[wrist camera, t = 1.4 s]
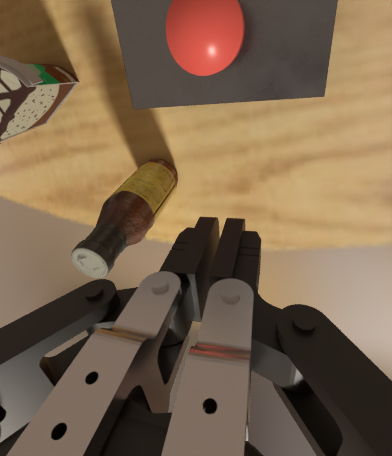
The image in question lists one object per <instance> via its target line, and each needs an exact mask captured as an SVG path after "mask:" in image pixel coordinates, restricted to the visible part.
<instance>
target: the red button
mask: <svg viewBox="0 0 392 456" xmlns="http://www.w3.org/2000/svg"><path fill="white" fill-rule="evenodd" d="M244 36H245V19H244V14H243V10H242V8H241V5H240V3H239V1H238V0H173V1H172V3H171V5H170V8H169V10H168V14H167V19H166V38H167V43H168V46H169V49H170V52H171V54H172V56H173V58H174V59H175V61H176V62H177V63H178V64H179V65H180V66H181V67H182V68H183V69H184V70H186V71H187V72H189V73H191V74H194V75H198V76H208V75H212V74H215V73H217V72H219V71H221V70H223V69H225V68H226V67H228V66H229V65H230V64H231V63H232V62H233V61H234V60H235V58H236V57H237V55H238V54H239V52H240V50H241V47H242V44H243V41H244Z"/></svg>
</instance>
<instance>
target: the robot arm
mask: <svg viewBox="0 0 392 456" xmlns="http://www.w3.org/2000/svg"><path fill="white" fill-rule="evenodd" d="M260 258H261V238H260V237H259V235H258V233H257V232H255V231H245V219H237V218H227V219H226V222H225V225H224V228H223V231H222V235H221V238H220V235H219V221H218V218H216V217H200V218H199V220H198V222H197V224H196V226H195V228H186V229H185V230H184V231H183V232H181V233H180V234H179V235H178V237H177V239H176V241H175V243H174V245H173V247H172V250H170V252H169V254H168V256H167V258H166V259H165V262H164V263H163V265H162V267H161V269H160V271H159V272H156V273H153V274H151V275H149V276H147V277H146V278H145V279H144V280H143V281H142V282H141V284H140V285H139V287H136V288H130V289H123V290H116V287H115V285H114V283H113V282H111V281H109V280H106V279H99V280H94V281H91V282H89V283H87V284H85V285H83V286H81V287H79V288H77V289H75V290H74V291H71V292H69V293H67V294H66V295H64V296H62V297H60V298H58V299H56V300H54V301H52V302H50V303H48V304H46V305H44V306H42V307H40V308H39V309H37V310H35V311H33V312H31V313H29V314H27V315H25V316H23V317H21V318H19V319H17V320H16V321H14V322H12V323H10V324H8V325H6V326H4V327H2V328H0V456H263V455H262V454H261V453H260V452H259V451H258V450H257V449H256V448H255V447H254V446H253V445H251V444H250V443H249V442H248V439H249V414H250V393H251V372H252V371H254V372H256V373H258V374H259V375H261V376H263V377H265V378H267V379H268V380H270V381H272V383H273V385H274V388H275V390H276V391H277V393H278V394H279V396H280V398H281V399H282V401H283V402H284V404H285V406H286V407H287V409H288V410H289V412H290V414H291V415H292V417H293V418H294V420H295V421H296V423H297V425H298V426H299V428H300V429H301V431H302V433H303V434H304V436H305V437H306V439H307V440H308V442H309V444H310V445H311V447H312V449H313V450H314V452H315V453H316V455H317V456H392V381H391V380H390V379H389V378H388V377H387V376H386V375H385V374H384V373H383V372H382V371H381V370H380V369H379V368H378V367H377V366H376V365H375V364H374V363H373V362H372V361H371V360H370V359H368V357H366V355H365V354H364V353H363V352H362V351H360V349H359V348H358V347H357V346H355V345H354V344H353V343H352V342H351V341H350V340H349V339H348V338H347V337H346V336H345V335H344V334H343V333H342V332H341V331H340V330H339V329H338V328H337V327H336V326H335V325H334V324H333V323H332V322H331V321H330V320H329V319H328V318H327V317H326V316H325V315H324V314H323V313H322V312H320V311H319V310H317V309H315V308H313V307H310V306H307V305H300V304H295V305H290V306H287V307H285V308H283V309H280V308H277V307H275V306H272V305H270V304H269V303H267V302H266V301H264V300H263V299H262V298H261V297H260V295H259V294H258V284H259V275H260ZM192 321H197V322H201V321H202V322H201V326H200V330H199V334H198V338H197V342H196V345H195V346H192V347H191V348H190V349H189V352H188V355H187V359H186V362H185V366H184V370H183V374H182V378H181V381H180V385H179V389H178V393H177V397H176V401H175V405H174V408H173V412H172V413H168V410H169V403H170V393H171V389H172V386H173V384H174V380H175V378H176V375H177V372H178V370H179V367H180V364H181V362H182V359H183V356H184V353H185V350H186V348H187V345H188V343H189V339H190V333H189V330H190V327H191V324H192ZM85 330H86V331H87V333H88V336H87V337H85V338H84V339H82V340H80V341H79V342H77V343H76V344H74V345H72V346H71V347H69V348H67V349H66V350H64V351H62V352H61V353H59V354H58V355H56V356H53V357H44V355H45V354H46V353H48V352H50V351H51V350H53V349H55V348H56V347H58V346H60V345H61V344H63V343H65V342H66V341H68V340H70V339H71V338H73V337H74V336H76V335H78V334H80V333H81V332H83V331H85Z"/></svg>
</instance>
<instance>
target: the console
mask: <svg viewBox="0 0 392 456" xmlns="http://www.w3.org/2000/svg"><path fill="white" fill-rule="evenodd" d="M172 1H173V0H111V3H112V8H113V13H114V17H115V22H116V27H117V32H118V37H119V41H120V46H121V51H122V56H123V61H124V66H125V70H126V75H127V80H128V85H129V90H130V94H131V99H132V104H133V109H143V108H158V107H173V106H189V105H204V104H219V103H234V102H250V101H265V100H280V99H295V98H311V97H324V95H325V88H326V80H327V73H328V66H329V59H330V52H331V45H332V38H333V30H334V23H335V16H336V9H337V2H338V0H238V1H239V3H240V5H241V8H242V10H243V14H244V19H245V36H244V41H243V44H242V47H241V50H240V52H239V54H238V55H237V57H236V58H235V60H234V61H233V62H232V63H231V64H230V65H229V66H228V67H226V68H225V69H223V70H221V71H219V72H217V73H215V74H212V75H208V76H198V75H194V74H191V73H189V72H187V71H186V70H184V69H183V68H182V67H181V66H180V65H179V64H178V63H177V62H176V61H175V59H174V58H173V56H172V54H171V52H170V49H169V46H168V43H167V38H166V19H167V14H168V10H169V8H170V5H171V3H172Z"/></svg>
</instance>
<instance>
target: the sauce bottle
mask: <svg viewBox="0 0 392 456" xmlns="http://www.w3.org/2000/svg"><path fill="white" fill-rule="evenodd" d="M177 182H178V177H177V174H176V172H175V170H174V169H173V167H172V166H171V165H170V164H168V163H167V162H165V161H163V160H158V159H154V160H150V161H149V162H147V163H145V164H143V165H142V166H140V167H139V168H138V170H137V171H136V172H134V173H133V174H132V175H131V176H130V177H129V178H128V179H127V180H126V181H125V182H124V183H123V185H121V186H120V187H119V188H118V189H117V190H116V191H115V192H114V193H113V194H112V195H111V196H110V197H109V198H108V199H107V200H106V201H105V203H104V204H103V207H102V210H101V213H100V215H99V218H98V221H97V224H96V227H95V228H94V230H93V231H92V233H91V234H90V235H89V236H88V237H87V238H86V239H85V240H83V241H81V242H80V243H79V244H78V245H77V246H76V247H75V248H74V250H73V251H72V254H71V258H72V262H73V264H74V265H75V266H76V267H77V268H78V269H79V270H80V271H81V272H83V273H84V274H86V275H88V276H90V277H93V278H101V277H104V276H106V275H107V274H108V273H109V271H110V270H111V269H112V267H113V266H114V261H115V259H116V258H117V257H118V255H119V254H120V253H121V252H122V251H123V250H124V248H125V247H127V246H129V245H133V244H136V243H138V242H140V241H141V240H142V239H143V238H144V236H145V235H146V233H147V232H148V230H149V229H150V228H151V227H152V226H153V224H154V223H155V221H156V219H157V218H158V216H159V215H160V213H161V212H162V210H163V209H164V207H165V206H166V204H167V203H168V201H169V200H170V198H171V197H172V195H173V194H174V192H175V189H176V187H177Z"/></svg>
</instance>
